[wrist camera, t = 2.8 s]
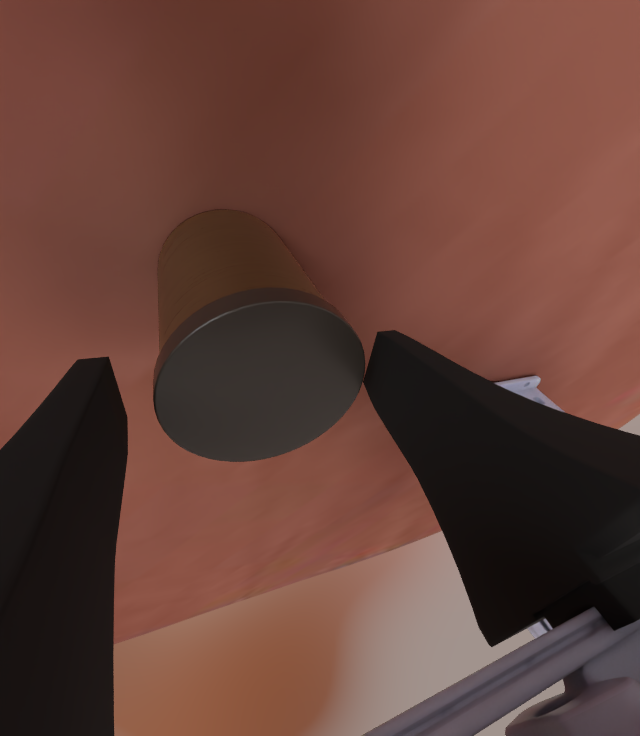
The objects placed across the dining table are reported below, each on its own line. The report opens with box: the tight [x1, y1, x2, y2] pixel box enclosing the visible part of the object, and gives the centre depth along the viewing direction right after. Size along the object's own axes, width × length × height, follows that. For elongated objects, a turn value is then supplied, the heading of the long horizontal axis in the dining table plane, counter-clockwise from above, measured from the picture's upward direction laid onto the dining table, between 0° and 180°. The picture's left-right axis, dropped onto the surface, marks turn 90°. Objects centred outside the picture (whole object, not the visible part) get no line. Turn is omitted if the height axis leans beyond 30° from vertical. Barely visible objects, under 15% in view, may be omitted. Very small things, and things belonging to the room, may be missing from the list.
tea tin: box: [153, 210, 365, 462], centre depth 11 cm, size 6×6×7 cm
